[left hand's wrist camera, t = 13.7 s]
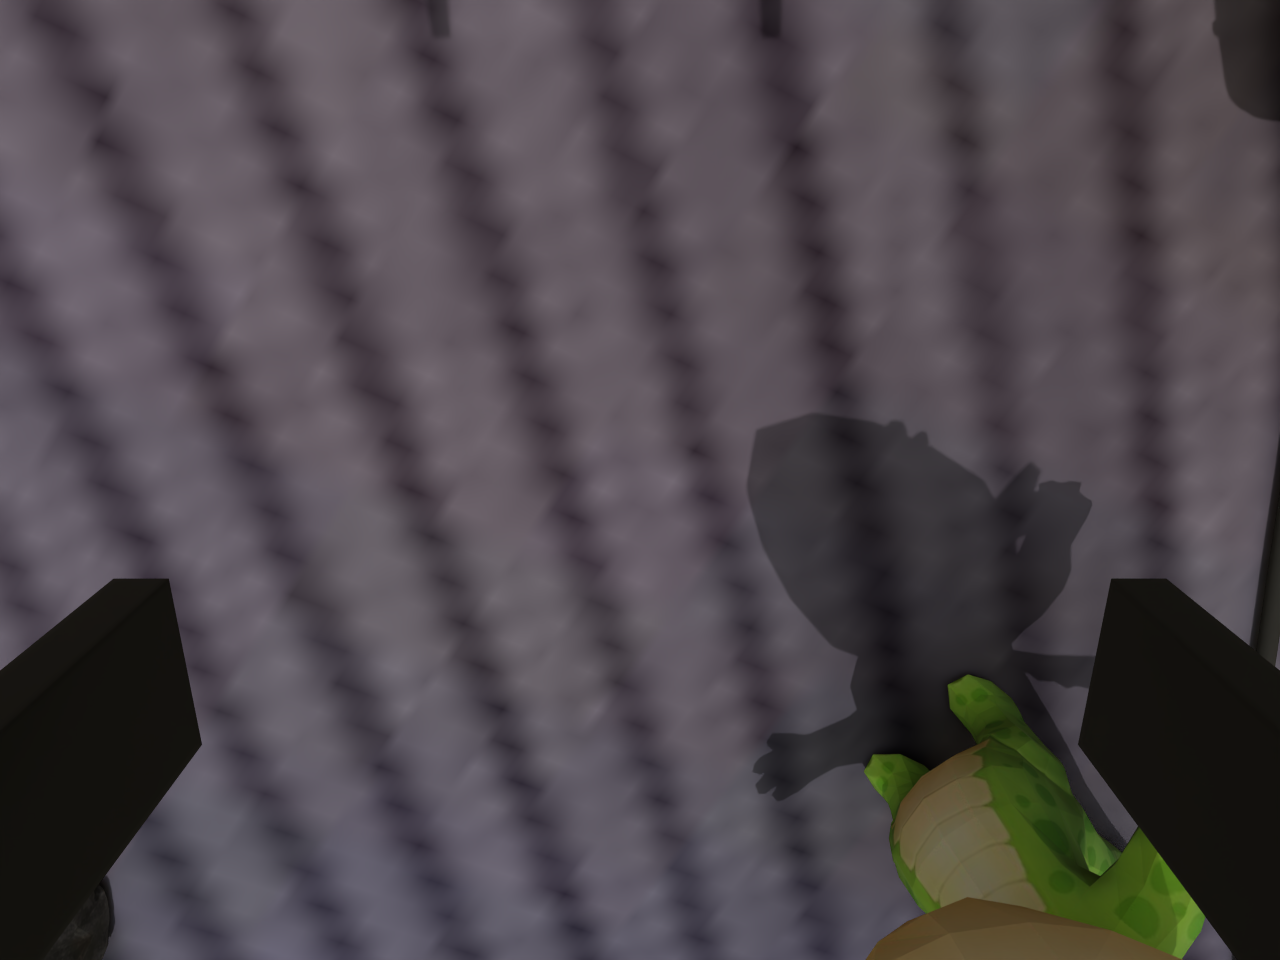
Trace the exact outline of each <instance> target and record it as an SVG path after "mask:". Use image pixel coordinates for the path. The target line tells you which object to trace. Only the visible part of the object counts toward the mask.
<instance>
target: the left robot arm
mask: <svg viewBox="0 0 1280 960" xmlns="http://www.w3.org/2000/svg"><path fill="white" fill-rule="evenodd" d="M1279 637H1280V494H1279V501H1278V507H1277V514H1276V520H1275V527H1274V533H1273V540H1272V546H1271V553H1270V560H1269V566H1268V573H1267V580H1266V587H1265V594H1264V601H1263V608H1262V615H1261V622H1260V629H1259V636H1258V643H1257V650H1256V651H1255V650H1254V649H1252V648H1251V647H1250V646H1249V645H1248V644H1246V643H1245V642H1244V641H1243V640H1241V639H1240V638H1239V637H1238V636H1236V635H1235V634H1234V633H1233V632H1231V631H1230V630H1229V629H1228V628H1227V627H1225V626H1224V625H1223V624H1222V623H1220V622H1219V621H1218V620H1217V619H1215V618H1214V617H1213V616H1212V615H1210V614H1209V613H1208V612H1207V611H1206V610H1204V609H1203V608H1202V607H1201V606H1199V605H1198V604H1197V603H1196V602H1194V601H1193V600H1192V599H1191V598H1190V597H1188V596H1187V595H1186V594H1185V593H1183V592H1182V591H1181V590H1180V589H1178V588H1177V587H1176V586H1175V585H1173V584H1172V583H1171V582H1170V581H1169V580H1167V579H1111V583H1110V588H1109V593H1108V598H1107V603H1106V608H1105V613H1104V618H1103V623H1102V628H1101V633H1100V638H1099V643H1098V648H1097V653H1096V658H1095V663H1094V668H1093V673H1092V678H1091V683H1090V688H1089V693H1088V698H1087V703H1086V708H1085V713H1084V718H1083V723H1082V728H1081V733H1080V738H1079V743H1078V745H1079V747H1080V748H1081V749H1082V751H1083V752H1084V753H1085V755H1086V756H1087V757H1088V759H1089V760H1090V761H1091V763H1092V764H1093V765H1094V767H1095V768H1096V770H1097V771H1098V772H1099V774H1100V775H1101V776H1102V778H1103V779H1104V780H1105V782H1106V783H1107V784H1108V786H1109V787H1110V788H1111V790H1112V791H1113V792H1114V794H1115V795H1116V797H1117V798H1118V799H1119V801H1120V802H1121V803H1122V805H1123V806H1124V807H1125V809H1126V810H1127V811H1128V813H1129V814H1130V815H1131V817H1132V818H1133V820H1134V821H1135V822H1136V824H1137V825H1138V826H1139V828H1140V829H1141V830H1142V832H1143V833H1144V834H1145V836H1146V837H1147V838H1148V840H1149V841H1150V843H1151V844H1152V845H1153V847H1154V848H1155V849H1156V851H1157V852H1158V853H1159V855H1160V856H1161V857H1162V859H1163V860H1164V861H1165V863H1166V864H1167V865H1168V867H1169V868H1170V870H1171V871H1172V872H1173V874H1174V875H1175V876H1176V878H1177V879H1178V880H1179V882H1180V883H1181V884H1182V886H1183V887H1184V888H1185V890H1186V891H1187V893H1188V894H1189V895H1190V897H1191V898H1192V899H1193V901H1194V902H1195V903H1196V905H1197V906H1198V907H1199V909H1200V910H1201V911H1202V913H1203V914H1204V916H1205V917H1206V918H1207V920H1208V921H1209V922H1210V924H1211V925H1212V926H1213V928H1214V929H1215V930H1216V932H1217V933H1218V934H1219V936H1220V937H1221V938H1222V940H1223V941H1224V943H1225V944H1226V945H1227V947H1228V948H1229V949H1230V951H1231V952H1232V953H1233V955H1234V956H1235V957H1236V959H1237V960H1280V670H1278V669H1277V668H1276V667H1275V663H1276V657H1277V650H1278V643H1279ZM201 745H202V743H201V738H200V733H199V728H198V723H197V718H196V713H195V708H194V703H193V698H192V693H191V688H190V683H189V678H188V673H187V668H186V663H185V658H184V653H183V648H182V643H181V638H180V633H179V628H178V623H177V618H176V613H175V608H174V603H173V598H172V593H171V588H170V583H169V579H113V580H111V581H110V582H109V583H108V584H107V585H105V586H104V587H103V588H102V589H100V590H99V591H98V592H97V593H95V594H94V595H93V596H92V597H90V598H89V599H88V600H87V601H86V602H84V603H83V604H82V605H81V606H79V607H78V608H77V609H76V610H74V611H73V612H72V613H71V614H70V615H68V616H67V617H66V618H65V619H63V620H62V621H61V622H60V623H58V624H57V625H56V626H55V627H53V628H52V629H51V630H50V631H49V632H47V633H46V634H45V635H44V636H42V637H41V638H40V639H39V640H37V641H36V642H35V643H34V644H32V645H31V646H30V647H29V648H28V649H26V650H25V651H24V652H23V653H21V654H20V655H19V656H18V657H16V658H15V659H14V660H13V661H11V662H10V663H9V664H8V665H7V666H5V667H4V668H3V669H2V670H0V960H43V959H44V957H45V956H46V955H47V953H48V952H49V951H50V949H51V948H52V947H53V945H54V944H55V943H56V941H57V940H58V938H59V937H60V936H61V934H62V933H63V932H64V930H65V929H66V928H67V926H68V925H69V924H70V922H71V921H72V920H73V918H74V917H75V916H76V914H77V913H78V911H79V910H80V909H81V907H82V906H83V905H84V903H85V902H86V901H87V899H88V898H89V897H90V895H91V894H92V893H93V891H94V890H95V888H96V887H97V886H98V884H99V883H100V882H101V880H102V879H103V878H104V876H105V875H106V874H107V872H108V871H109V870H110V868H111V867H112V865H113V864H114V863H115V861H116V860H117V859H118V857H119V856H120V855H121V853H122V852H123V851H124V849H125V848H126V847H127V845H128V844H129V843H130V841H131V840H132V838H133V837H134V836H135V834H136V833H137V832H138V830H139V829H140V828H141V826H142V825H143V824H144V822H145V821H146V820H147V818H148V817H149V815H150V814H151V813H152V811H153V810H154V809H155V807H156V806H157V805H158V803H159V802H160V801H161V799H162V798H163V797H164V795H165V794H166V792H167V791H168V790H169V788H170V787H171V786H172V784H173V783H174V782H175V780H176V779H177V778H178V776H179V775H180V774H181V772H182V771H183V770H184V768H185V767H186V765H187V764H188V763H189V761H190V760H191V759H192V757H193V756H194V755H195V753H196V752H197V751H198V749H199V748H200V747H201Z"/></svg>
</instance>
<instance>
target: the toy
mask: <svg viewBox="0 0 1280 960" xmlns="http://www.w3.org/2000/svg"><path fill="white" fill-rule="evenodd" d="M948 693H949V703H950V709H951V710H952V711H953V712H954V714H955V715H956V716H957V717H958V718H959V720H960V721H961V722H962V723H963V724H964V726H965V727H966V728H967V729H968V730H969V732H970V733H971V734H972V736H973V738H974V740H975V742H976V744H977V745H975V746H973V747H971V748H969V749H967V750H965V751H962V752H960V753H958V754H956V755H954V756H953V757H951V758H949V759H948V760H946V761H945V762H943V763H942V764H940V765H939V766H937V767H936V768H934V769H932V770H931V771H930V770H929V769H928V768H926V767H925V766H924V765H922V764H920V763H918V762H916V761H914V760H912V759H909V758H907V757H905V756H903V755H901V754H873V756H872V757H871V759H870V761H869V763H868V765H867V767H866V768H865V770H864V772H865V774H866V776H867V777H868V779H869V780H870V782H871V784H872V785H873V787H874V788H875V790H876V791H877V792H878V793H879V794H880V795H881V796H882V797H883V798H884V799H885V800H886V801H887V803H888V804H889V807H890V810H891V813H892V818H893V821H892V823H891V828H890V835H889V842H890V847H891V852H892V857H893V861H894V863H895V865H896V868H897V872H898V875H899V878H900V879H901V881H902V882H903V884H904V885H905V887H906V888H907V890H908V891H909V893H910V894H911V896H912V897H913V899H914V900H915V902H916V903H917V905H918V906H919V907H920V908H921V909H922V910H923V911H924V912H925V913H926V914H924V915H922V916H919V917H917V918H914V919H912V920H910V921H907V922H906V923H904V924H903V925H901V926H900V927H899V928H897V929H896V930H894V931H893V932H891V933H890V934H889V935H887V936H886V937H884V938H883V939H882V940H880V941H879V942H878V943H877V944H876V946H875V947H874V948H873V950H872V951H871V953H870V954H869V956H868V957H867V959H866V960H1183V959H1182V958H1183V956H1184V955H1185V953H1186V952H1187V950H1188V949H1189V947H1190V946H1191V945H1192V943H1193V942H1194V940H1195V939H1196V937H1197V936H1198V934H1199V933H1200V931H1201V929H1202V926H1203V923H1204V919H1205V916H1204V914H1203V913H1202V911H1201V910H1200V909H1199V907H1198V906H1197V905H1196V903H1195V902H1194V901H1193V899H1192V898H1191V897H1190V895H1189V894H1188V893H1187V891H1186V890H1185V888H1184V887H1183V886H1182V884H1181V883H1180V882H1179V880H1178V879H1177V878H1176V876H1175V875H1174V874H1173V872H1172V871H1171V870H1170V868H1169V867H1168V865H1167V864H1166V863H1165V861H1164V860H1163V859H1162V857H1161V856H1160V855H1159V853H1158V852H1157V851H1156V849H1155V848H1154V847H1153V845H1152V844H1151V843H1150V841H1149V840H1148V838H1147V837H1146V836H1145V834H1144V833H1143V832H1142V830H1141V829H1140V828H1139V826H1138V827H1137V829H1136V831H1135V832H1134V834H1133V836H1132V837H1131V839H1130V841H1129V842H1128V844H1127V846H1126V847H1125V849H1124V851H1123V852H1121V851H1120V850H1118V849H1117V848H1116V847H1114V846H1113V845H1112V844H1111V843H1109V842H1108V841H1107V840H1105V839H1104V838H1102V837H1101V836H1100V835H1098V834H1097V832H1096V831H1095V829H1094V827H1093V825H1092V824H1091V822H1090V820H1089V818H1088V817H1087V815H1086V813H1085V811H1084V809H1083V808H1082V806H1081V805H1080V804H1079V802H1078V801H1077V800H1076V799H1075V797H1074V796H1073V795H1072V792H1071V788H1070V785H1069V782H1068V779H1067V775H1066V772H1065V769H1064V766H1063V765H1062V763H1061V761H1060V760H1059V759H1058V758H1057V757H1056V756H1055V755H1054V754H1053V753H1052V752H1051V751H1050V750H1049V749H1048V748H1047V747H1046V746H1045V745H1044V744H1043V743H1042V742H1041V741H1040V740H1039V738H1038V737H1037V736H1036V735H1035V734H1034V733H1033V731H1032V730H1031V729H1030V728H1029V727H1028V726H1027V724H1026V723H1025V722H1024V720H1023V718H1022V716H1021V714H1020V712H1019V710H1018V708H1017V706H1016V705H1015V703H1014V702H1013V700H1012V699H1011V697H1009V696H1008V695H1007V694H1006V693H1005V692H1003V691H1002V690H1001V689H1000V688H998V687H997V686H996V685H995V684H994V683H992V682H991V681H988V680H985V679H982V678H978V677H975V676H972V675H966V676H964V677H962V678H960V679H958V680H956V681H954V682H952V683H950V684H948Z"/></svg>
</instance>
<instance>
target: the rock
mask: <svg viewBox="0 0 1280 960" xmlns="http://www.w3.org/2000/svg"><path fill="white" fill-rule="evenodd" d="M109 920H110V919H109V906H108V900H107V897H106V894H105V891H104V888H102V887H101V886H100V885H99V884H98V886H97V887H96V888H95V890H94V891H93V893H92V894H91V895H90V897H89V898H88V899H87V901H86V902H85V903H84V905H83V906H82V907H81V909H80V910H79V911H78V913H77V914H76V916H75V917H74V918H73V920H72V921H71V922H70V924H69V925H68V926H67V928H66V929H65V930H64V932H63V933H62V934H61V936H60V937H59V938H58V940H57V941H56V943H55V944H54V945H53V947H52V948H51V949H50V951H49V952H48V953H47V955H46V956H45V957H44V959H43V960H102V958H103V956H104V953H105V951H106V948H107V946H108V935H109V930H108V927H109Z"/></svg>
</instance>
